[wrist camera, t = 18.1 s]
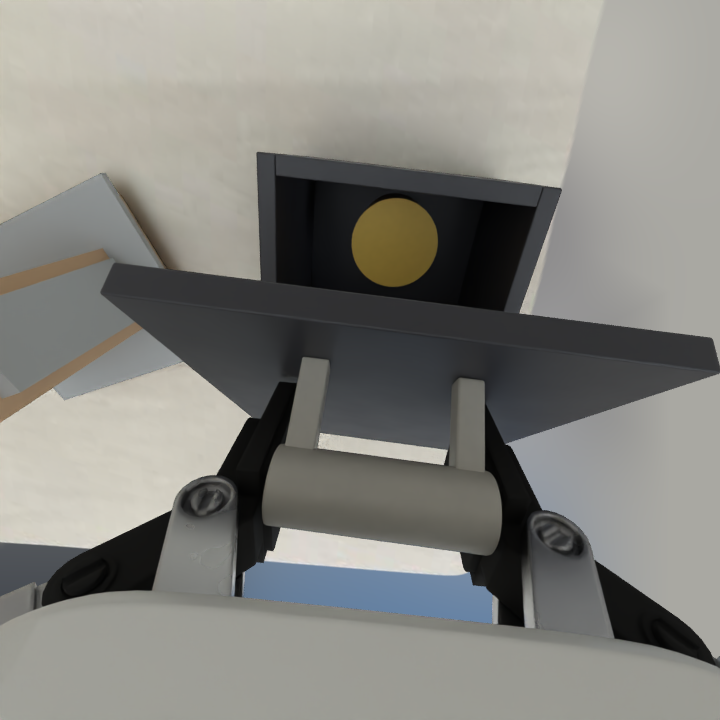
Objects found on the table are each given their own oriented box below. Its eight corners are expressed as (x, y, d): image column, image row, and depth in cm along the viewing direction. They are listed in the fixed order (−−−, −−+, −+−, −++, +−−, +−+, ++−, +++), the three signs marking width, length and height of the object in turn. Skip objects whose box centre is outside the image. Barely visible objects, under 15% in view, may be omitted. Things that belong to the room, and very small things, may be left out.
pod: (436, 196, 23) (446, 203, 18) (421, 269, 25) (428, 291, 21) (362, 187, 23) (356, 192, 19) (355, 261, 25) (348, 281, 21)
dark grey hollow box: (306, 156, 23) (255, 151, 14) (498, 179, 23) (563, 188, 14) (301, 341, 30) (265, 413, 21) (450, 360, 29) (474, 441, 21)
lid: (112, 261, 7) (0, 504, 6) (714, 336, 7) (786, 613, 6) (264, 411, 21) (244, 497, 19) (476, 439, 21) (475, 529, 19)
